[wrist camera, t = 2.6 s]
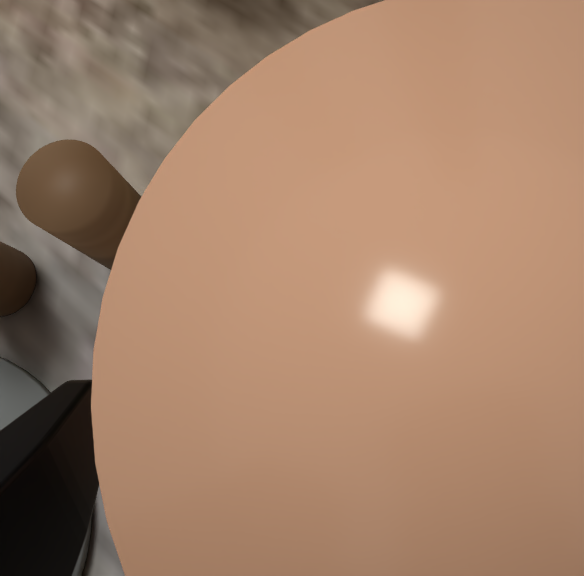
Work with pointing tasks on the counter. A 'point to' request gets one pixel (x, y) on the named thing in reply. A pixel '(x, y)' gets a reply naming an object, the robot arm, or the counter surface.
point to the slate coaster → (18, 399)
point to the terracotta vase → (360, 310)
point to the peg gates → (67, 211)
